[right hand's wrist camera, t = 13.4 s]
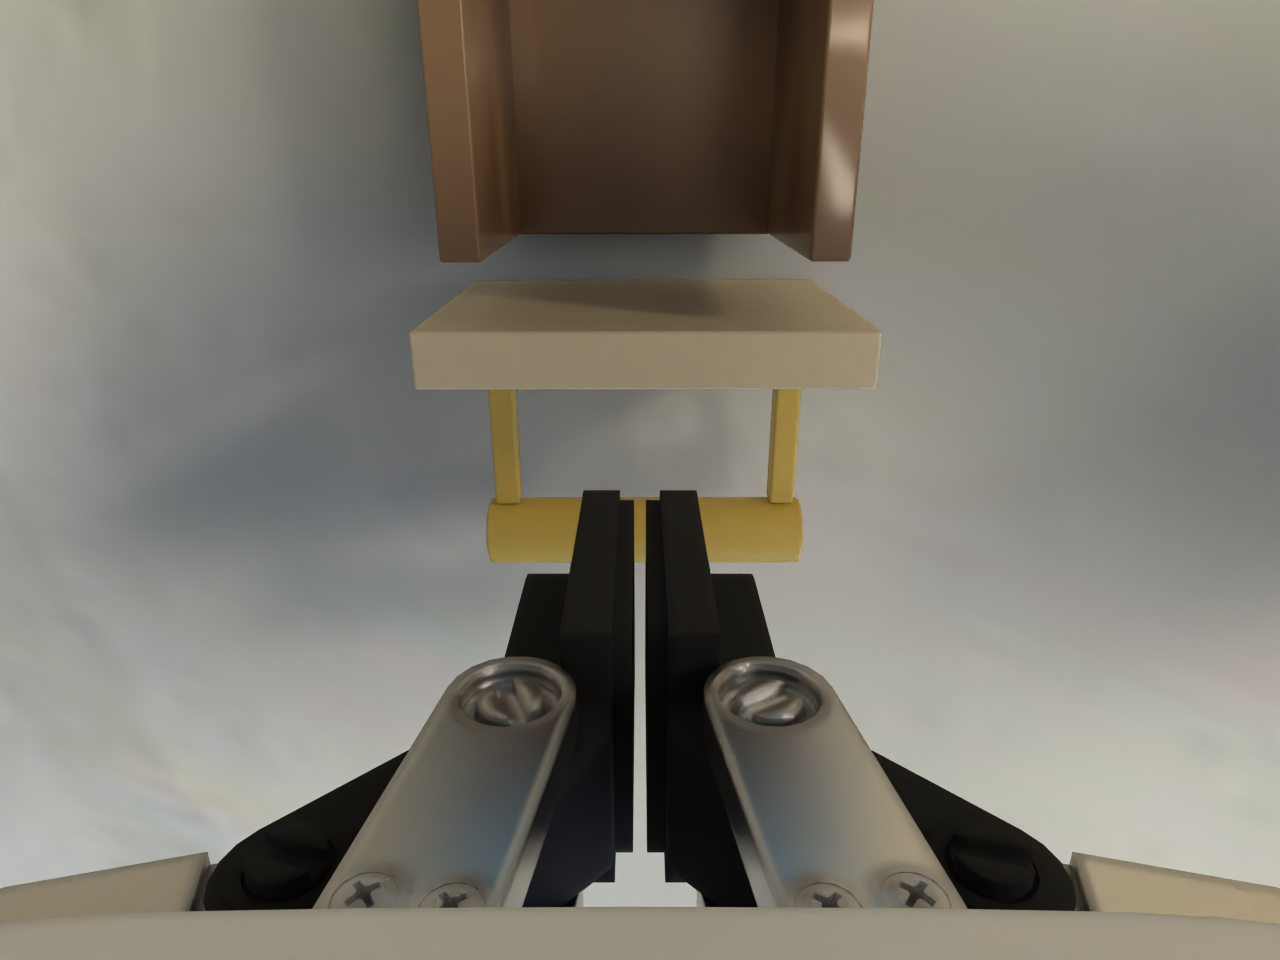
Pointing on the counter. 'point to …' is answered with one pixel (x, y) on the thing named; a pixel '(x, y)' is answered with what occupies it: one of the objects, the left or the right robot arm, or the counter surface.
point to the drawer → (645, 221)
